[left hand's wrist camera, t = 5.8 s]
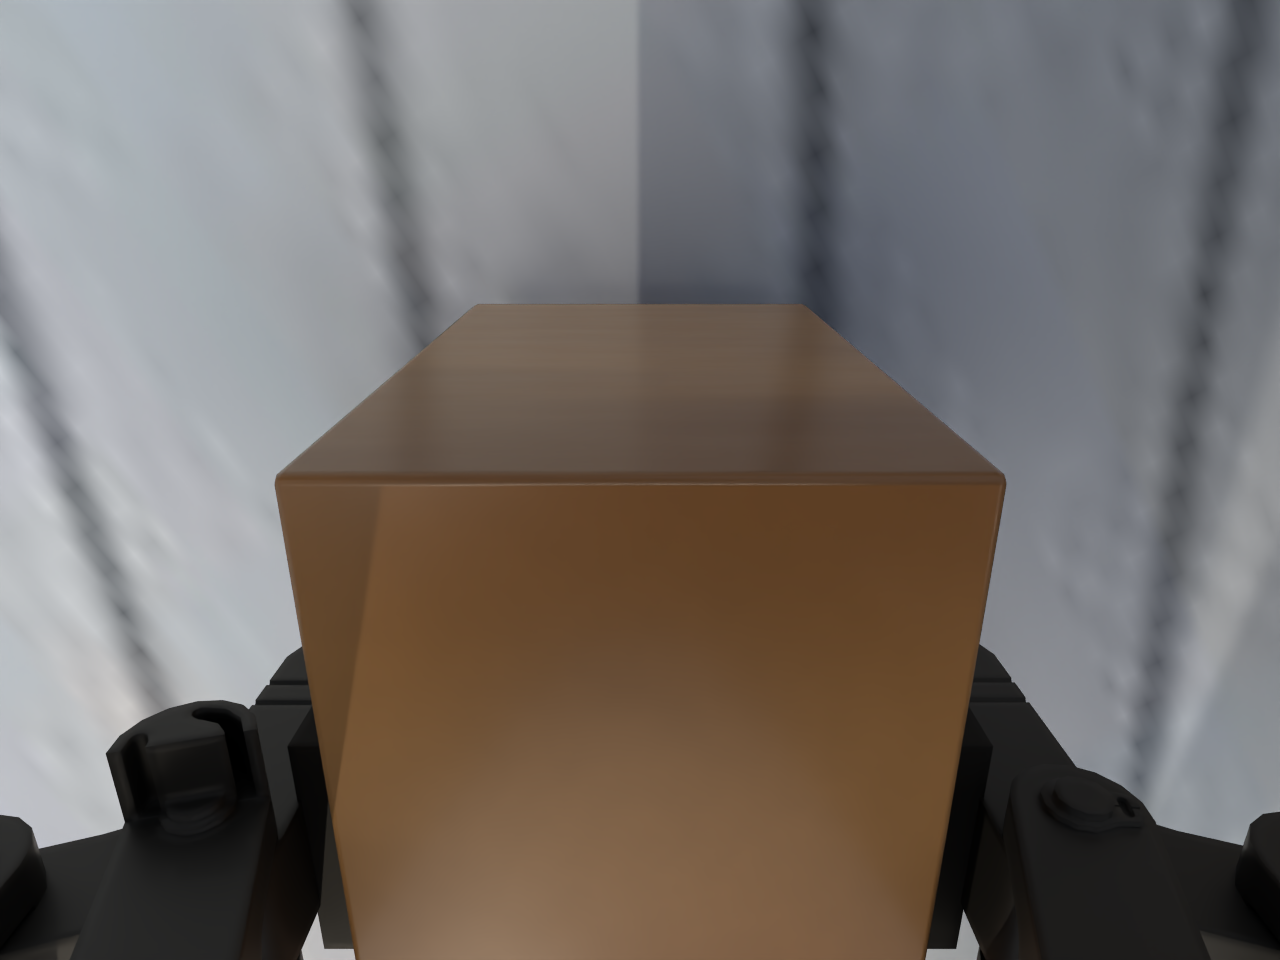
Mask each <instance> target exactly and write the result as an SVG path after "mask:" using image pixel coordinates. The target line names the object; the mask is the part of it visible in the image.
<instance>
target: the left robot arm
mask: <svg viewBox="0 0 1280 960" xmlns="http://www.w3.org/2000/svg"><path fill="white" fill-rule="evenodd" d="M106 756H107V760H108V763H109V767H110V770H111V774H112V777H113V781H114V785H115V788H116V792H117V795H118V799H119V803H120V806H121V810H122V813H123V817H124V820H125V824H124V826H123V829H120V830H116V831H113V832H110V833H106V834H103V835H98V836H94V837H89V838H85V839H80V840H76V841H72V842H67V843H63V844H58V845H54V846H49V847H45V848H41V849H39V848H38V845H37V842H36V839H35V836H34V833H33V830H32V828H31V827H30V826H29V825H28V824H26V823H25V822H24V821H23V820H21V819H20V818H19V817H12V816H4V815H0V960H303V956H302V951H301V949H302V947H303V945H304V942H305V940H306V938H307V935H308V933H309V931H310V928H311V926H312V924H313V922H314V919H315V917H316V915H317V912H318V916H319V922H320V927H321V933H322V938H323V944H324V949H354V947H353V941H352V935H351V929H350V924H349V918H348V912H347V906H346V900H345V894H344V888H343V882H342V877H341V871H340V865H339V859H338V853H337V847H336V841H335V836H334V830H333V824H332V818H331V812H330V806H329V800H328V795H327V789H326V783H325V777H324V771H323V765H322V759H321V754H320V748H319V742H318V736H317V730H316V724H315V718H314V713H313V707H312V701H311V695H310V689H309V683H308V677H307V672H306V666H305V660H304V654H303V648H302V647H301V648H299V649H298V650H296V651H295V652H293V653H292V654H290V655H289V656H288V657H287V658H286V659H285V660H284V662H283V663H282V664H281V666H280V667H279V669H278V670H277V671H276V673H275V674H274V676H273V677H272V678H271V680H270V685H266V687H265V688H264V689H263V691H262V692H261V693H260V695H259V696H258V698H257V699H256V704H255V705H252V706H251V707H250V709H247V708H246V707H245V706H244V705H242V704H237V703H233V702H229V701H224V700H216V701H197V702H193V703H189V704H185V705H181V706H177V707H172V708H169V709H166V710H164V711H162V712H160V713H157V714H155V715H153V716H151V717H148V718H146V719H144V720H142V721H140V722H139V723H137V724H136V725H135V726H133V727H132V728H130V729H129V730H128V731H126V732H125V733H123V734H122V735H120V736H119V737H118V739H117V740H116V741H115V743H114V744H113V745H112V746H111V748H110V749H109V750H108V751H107V753H106ZM963 909H964V912H965V914H966V916H967V919H968V921H969V923H970V925H971V928H972V930H973V932H974V935H975V937H976V939H977V941H978V944H979V951H978V956H977V960H1280V812H1275V813H1267V814H1262V815H1261V816H1260V817H1259V818H1257V819H1256V820H1255V821H1254V822H1252V823H1251V824H1250V827H1249V830H1248V833H1247V836H1246V839H1245V842H1244V845H1243V846H1242V845H1238V844H1233V843H1229V842H1224V841H1220V840H1215V839H1211V838H1207V837H1202V836H1198V835H1193V834H1189V833H1184V832H1180V831H1176V830H1173V829H1169V828H1166V827H1162V826H1159V825H1156V822H1155V820H1154V819H1153V817H1152V816H1151V815H1150V813H1149V812H1148V810H1147V809H1146V807H1145V806H1144V804H1143V803H1142V802H1141V801H1140V800H1138V799H1137V798H1136V797H1135V796H1134V795H1132V794H1131V793H1130V792H1129V791H1127V790H1126V789H1125V788H1124V787H1122V786H1121V785H1119V784H1117V783H1115V782H1113V781H1111V780H1109V779H1107V778H1105V777H1103V776H1101V775H1099V774H1097V773H1095V772H1091V771H1088V770H1084V769H1080V768H1077V767H1076V766H1075V765H1074V763H1073V762H1072V761H1071V759H1070V758H1069V756H1068V755H1067V754H1066V752H1065V751H1064V750H1063V748H1062V747H1061V745H1060V744H1059V743H1058V741H1057V740H1056V739H1055V737H1054V736H1053V734H1052V733H1051V732H1050V730H1049V729H1048V728H1047V726H1046V725H1045V724H1044V722H1043V721H1042V719H1041V718H1040V717H1039V715H1038V714H1037V713H1036V711H1035V710H1034V708H1033V707H1032V706H1031V704H1030V703H1029V702H1026V700H1025V696H1024V695H1023V693H1022V692H1021V691H1020V689H1019V688H1018V687H1017V685H1016V684H1015V683H1012V682H1011V677H1010V676H1009V674H1008V673H1007V671H1006V670H1005V669H1004V667H1003V666H1002V665H1001V663H1000V662H999V660H998V659H997V658H996V656H995V655H994V654H993V653H991V652H990V651H988V650H987V649H986V648H984V647H983V646H981V645H980V644H979V648H978V653H977V659H976V665H975V671H974V677H973V683H972V689H971V694H970V700H969V706H968V712H967V718H966V724H965V730H964V735H963V741H962V747H961V753H960V759H959V765H958V771H957V776H956V782H955V788H954V794H953V800H952V806H951V812H950V817H949V823H948V829H947V835H946V841H945V847H944V853H943V858H942V864H941V870H940V876H939V882H938V888H937V894H936V899H935V905H934V911H933V917H932V923H931V929H930V935H929V940H928V946H927V949H956V947H957V941H958V936H959V930H960V925H961V919H962V914H963Z"/></svg>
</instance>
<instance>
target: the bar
mask: <svg viewBox="0 0 1280 960" xmlns="http://www.w3.org/2000/svg"><path fill="white" fill-rule="evenodd" d="M1005 489H1006V479H1005V476H1004V474H1003V473H1002V472H1001V471H1000V470H998V469H997V468H996V467H995V466H994V465H993V464H991V463H990V462H989V461H988V460H987V459H985V458H984V457H983V456H982V455H981V454H980V453H978V452H977V451H976V450H975V449H974V448H972V447H971V446H970V445H969V444H968V443H967V442H965V441H964V440H963V439H962V438H961V437H960V436H958V435H957V434H956V433H955V432H954V431H952V430H951V429H950V428H949V427H948V426H947V425H945V424H944V423H943V422H942V421H941V420H940V419H938V418H937V417H936V416H935V415H934V414H932V413H931V412H930V411H929V410H928V409H927V408H925V407H924V406H923V405H922V404H921V403H919V402H918V401H917V400H916V399H915V398H914V397H912V396H911V395H910V394H909V393H908V392H907V391H905V390H904V389H903V388H902V387H901V386H899V385H898V384H897V383H896V382H895V381H894V380H892V379H891V378H890V377H889V376H888V375H887V374H885V373H884V372H883V371H882V370H881V369H879V368H878V367H877V366H876V365H875V364H874V363H872V362H871V361H870V360H869V359H868V358H866V357H865V356H864V355H863V354H862V353H861V352H859V351H858V350H857V349H856V348H855V347H854V346H852V345H851V344H850V343H849V342H848V341H846V340H845V339H844V338H843V337H842V336H841V335H839V334H838V333H837V332H836V331H835V330H834V329H832V328H831V327H830V326H829V325H828V324H826V323H825V322H824V321H823V320H822V319H821V318H819V317H818V316H817V315H816V314H815V313H814V312H812V311H811V310H810V309H809V308H808V307H806V306H805V305H803V304H477V305H475V306H474V307H472V308H471V309H470V310H469V311H468V312H467V313H465V314H464V315H463V316H462V317H461V318H460V319H458V320H457V321H456V322H455V323H454V324H453V325H451V326H450V327H449V328H448V329H447V330H446V331H444V332H443V333H442V334H441V335H440V336H438V337H437V338H436V339H435V340H434V341H433V342H431V343H430V344H429V345H428V346H427V347H426V348H424V349H423V350H422V351H421V352H420V353H419V354H417V355H416V356H415V357H414V358H413V359H412V360H410V361H409V362H408V363H407V364H406V365H405V366H403V367H402V368H401V369H400V370H399V371H398V372H396V373H395V374H394V375H393V376H392V377H391V378H389V379H388V380H387V381H386V382H385V383H383V384H382V385H381V386H380V387H379V388H378V389H376V390H375V391H374V392H373V393H372V394H371V395H369V396H368V397H367V398H366V399H365V400H364V401H362V402H361V403H360V404H359V405H358V406H357V407H355V408H354V409H353V410H352V411H351V412H350V413H348V414H347V415H346V416H345V417H344V418H343V419H341V420H340V421H339V422H338V423H337V424H335V425H334V426H333V427H332V428H331V429H330V430H328V431H327V432H326V433H325V434H324V435H323V436H321V437H320V438H319V439H318V440H317V441H316V442H314V443H313V444H312V445H311V446H310V447H309V448H307V449H306V450H305V451H304V452H303V453H302V454H300V455H299V456H298V457H297V458H296V459H295V460H293V461H292V462H291V463H290V464H289V465H287V466H286V467H285V468H284V469H283V470H282V471H280V472H279V473H278V474H277V476H276V480H275V490H276V496H277V502H278V507H279V513H280V519H281V525H282V531H283V537H284V543H285V548H286V554H287V560H288V566H289V572H290V578H291V584H292V589H293V595H294V601H295V607H296V613H297V619H298V625H299V630H300V636H301V642H302V648H303V654H304V660H305V666H306V672H307V677H308V683H309V689H310V695H311V701H312V707H313V713H314V718H315V724H316V730H317V736H318V742H319V748H320V754H321V759H322V765H323V771H324V777H325V783H326V789H327V795H328V800H329V806H330V812H331V818H332V824H333V830H334V836H335V841H336V847H337V853H338V859H339V865H340V871H341V877H342V882H343V888H344V894H345V900H346V906H347V912H348V918H349V924H350V929H351V935H352V941H353V947H354V953H355V959H356V960H925V958H926V952H927V946H928V940H929V935H930V929H931V923H932V917H933V911H934V905H935V899H936V894H937V888H938V882H939V876H940V870H941V864H942V858H943V853H944V847H945V841H946V835H947V829H948V823H949V817H950V812H951V806H952V800H953V794H954V788H955V782H956V776H957V771H958V765H959V759H960V753H961V747H962V741H963V735H964V730H965V724H966V718H967V712H968V706H969V700H970V694H971V689H972V683H973V677H974V671H975V665H976V659H977V653H978V648H979V642H980V636H981V630H982V624H983V618H984V612H985V607H986V601H987V595H988V589H989V583H990V577H991V571H992V566H993V560H994V554H995V548H996V542H997V536H998V530H999V525H1000V519H1001V513H1002V507H1003V501H1004V495H1005Z"/></svg>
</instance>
